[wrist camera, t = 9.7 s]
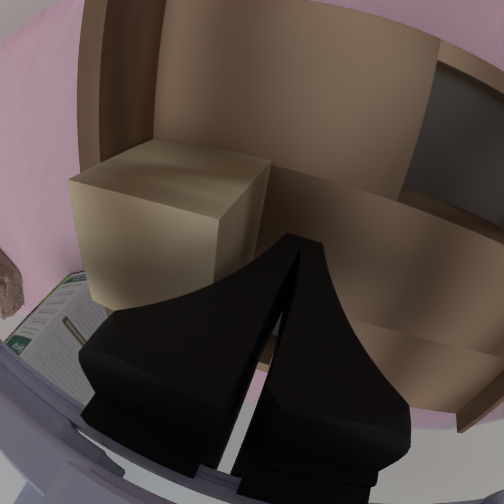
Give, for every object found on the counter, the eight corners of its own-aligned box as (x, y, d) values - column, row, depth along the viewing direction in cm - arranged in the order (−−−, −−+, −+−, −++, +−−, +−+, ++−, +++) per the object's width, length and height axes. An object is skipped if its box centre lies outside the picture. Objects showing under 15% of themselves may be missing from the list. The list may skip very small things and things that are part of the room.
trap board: (595, 160, 6) (659, 208, 2) (457, 384, 16) (463, 453, 11) (159, 9, 10) (66, -3, 5) (154, 296, 19) (107, 355, 15)
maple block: (271, 160, 10) (219, 219, 6) (252, 266, 12) (207, 350, 9) (156, 137, 10) (68, 179, 7) (156, 236, 13) (92, 299, 9)
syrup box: (105, 264, 19) (-33, 418, 8) (146, 327, 22) (42, 480, 10) (68, 273, 22) (-44, 394, 10) (105, 327, 24) (13, 449, 13)
